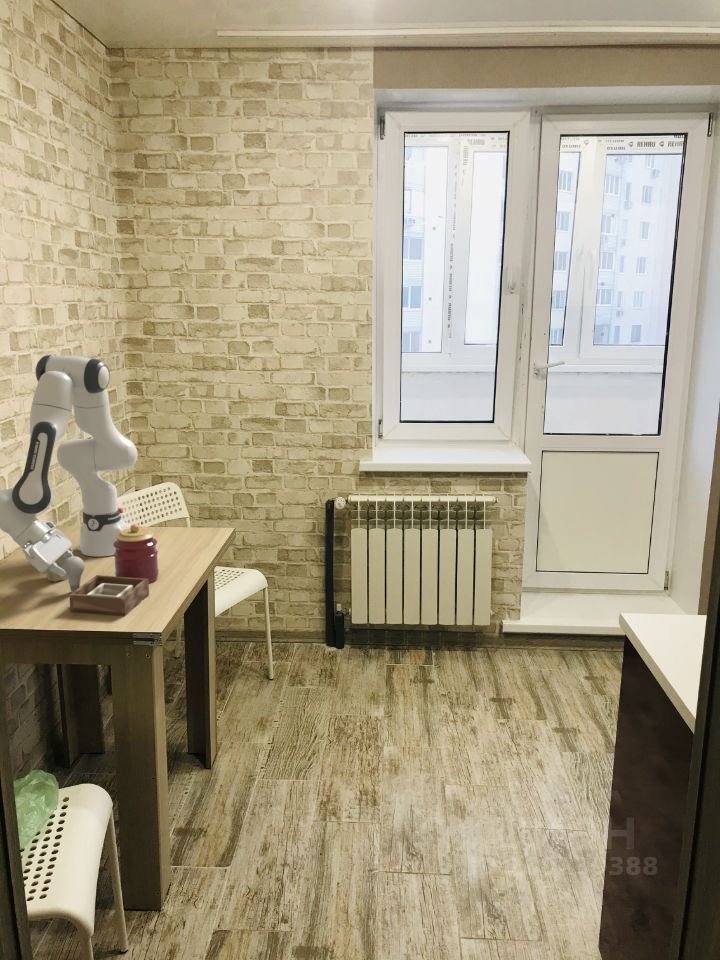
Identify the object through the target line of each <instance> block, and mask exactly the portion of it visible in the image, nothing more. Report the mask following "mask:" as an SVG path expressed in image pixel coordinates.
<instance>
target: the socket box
mask: <svg viewBox="0 0 720 960" xmlns="http://www.w3.org/2000/svg"><path fill="white" fill-rule="evenodd" d="M149 584H150V583H149V582H148V579H144V578H129V577H115V575H114V576H111V575H95V576H94V577H92V578H90V579H89V580H87V582H85V583H83V584H82V585H80V588H78V589H77V590H75V591H74V592H71V593H70V594H69V595H68V596H69V597H68V598H69V612H70V613H80V614H81V613H83V614H93V615H94V614H95V615H107V616H119V617H120V616H121V617H127V615H129V613H130V612H132V611H133V610H134V609H135V608H136V607H137V606H138V605H139V604H141V603H142V602H143V601H144V600H145V599H146V598H148V596H150V588H149ZM142 600H143V601H142ZM141 601H142V602H141ZM140 602H141V603H140Z"/></svg>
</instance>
